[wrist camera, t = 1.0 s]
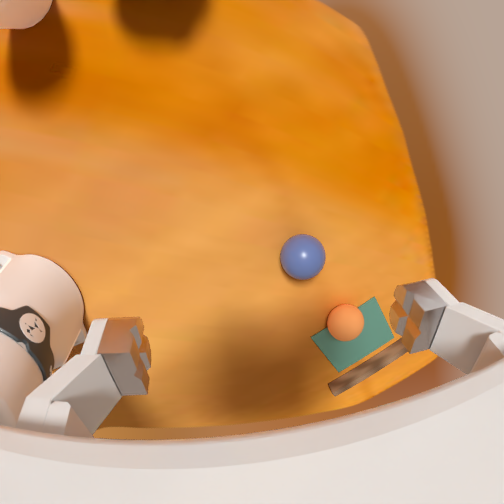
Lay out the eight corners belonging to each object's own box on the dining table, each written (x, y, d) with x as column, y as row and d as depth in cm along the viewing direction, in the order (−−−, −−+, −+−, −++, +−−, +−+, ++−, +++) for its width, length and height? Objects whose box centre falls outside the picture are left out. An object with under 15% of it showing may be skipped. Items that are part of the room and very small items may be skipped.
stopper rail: (331, 386, 58) (335, 396, 55) (328, 383, 57) (332, 393, 55) (410, 336, 55) (416, 345, 53) (408, 332, 54) (415, 341, 52)
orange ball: (331, 331, 50) (343, 354, 45) (316, 310, 48) (328, 334, 43) (360, 312, 50) (374, 334, 45) (347, 290, 47) (362, 312, 42)
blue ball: (289, 273, 44) (300, 296, 39) (267, 243, 42) (277, 264, 37) (324, 250, 43) (339, 271, 38) (304, 218, 41) (319, 237, 36)
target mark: (338, 371, 56) (338, 372, 56) (310, 337, 50) (311, 337, 50) (393, 336, 54) (394, 337, 54) (374, 296, 49) (374, 297, 48)
